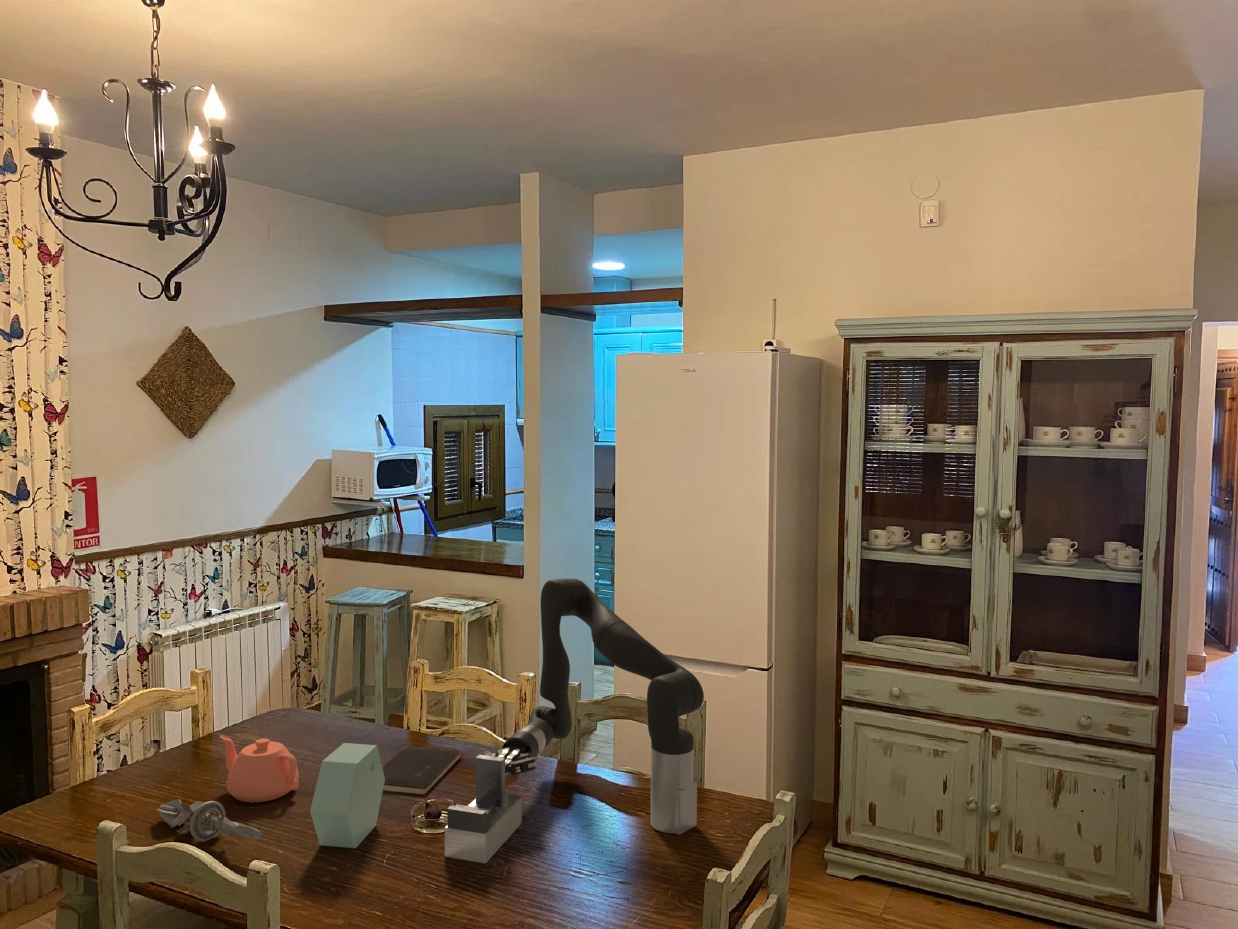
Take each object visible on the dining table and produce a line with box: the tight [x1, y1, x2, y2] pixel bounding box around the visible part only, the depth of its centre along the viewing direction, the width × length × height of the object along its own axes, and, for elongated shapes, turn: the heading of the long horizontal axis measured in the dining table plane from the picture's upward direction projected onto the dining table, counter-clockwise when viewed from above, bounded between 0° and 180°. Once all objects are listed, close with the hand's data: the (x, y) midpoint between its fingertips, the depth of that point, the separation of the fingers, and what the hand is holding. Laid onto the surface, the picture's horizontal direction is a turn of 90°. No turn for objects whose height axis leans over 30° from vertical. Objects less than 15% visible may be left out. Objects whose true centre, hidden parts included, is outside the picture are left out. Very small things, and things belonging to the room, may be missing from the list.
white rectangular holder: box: [444, 793, 523, 864], centre depth 187 cm, size 18×9×10 cm, turn 163°
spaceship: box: [157, 798, 263, 843], centre depth 186 cm, size 8×35×8 cm
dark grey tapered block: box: [473, 754, 506, 811], centre depth 185 cm, size 11×6×10 cm, turn 163°
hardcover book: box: [382, 745, 463, 795], centre depth 221 cm, size 16×23×2 cm
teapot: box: [219, 734, 300, 804], centre depth 209 cm, size 22×16×12 cm
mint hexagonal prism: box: [309, 742, 385, 849], centre depth 188 cm, size 17×8×21 cm
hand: (492, 776), depth 190 cm, fingers closed
